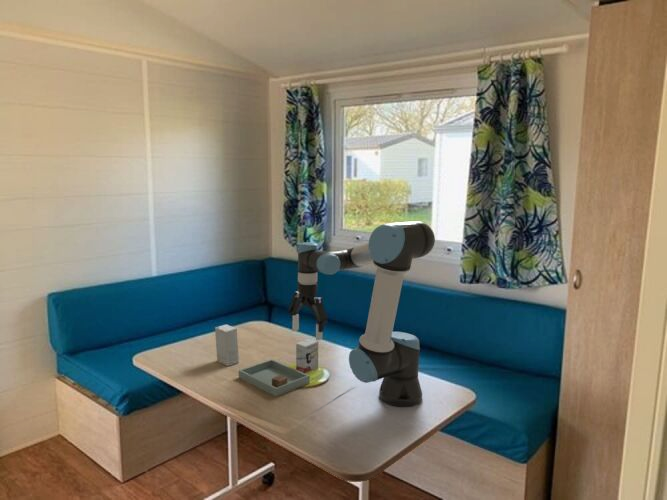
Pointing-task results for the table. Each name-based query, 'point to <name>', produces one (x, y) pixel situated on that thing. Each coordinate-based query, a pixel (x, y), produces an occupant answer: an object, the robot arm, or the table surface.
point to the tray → (269, 369)
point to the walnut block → (279, 381)
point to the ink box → (307, 355)
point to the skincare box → (227, 345)
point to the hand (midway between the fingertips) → (307, 335)
